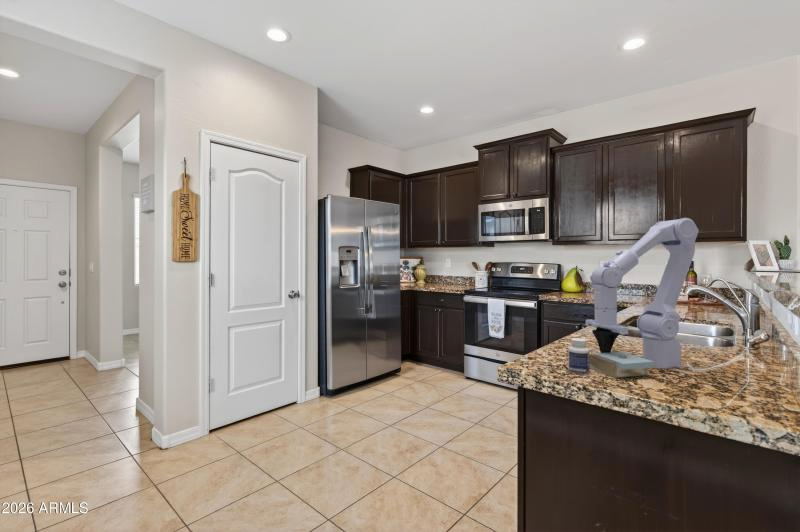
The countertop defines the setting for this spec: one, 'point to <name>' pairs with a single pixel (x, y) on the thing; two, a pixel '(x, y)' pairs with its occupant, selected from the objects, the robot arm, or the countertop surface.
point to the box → (613, 368)
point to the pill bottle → (578, 356)
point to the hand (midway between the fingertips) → (605, 354)
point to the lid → (626, 360)
